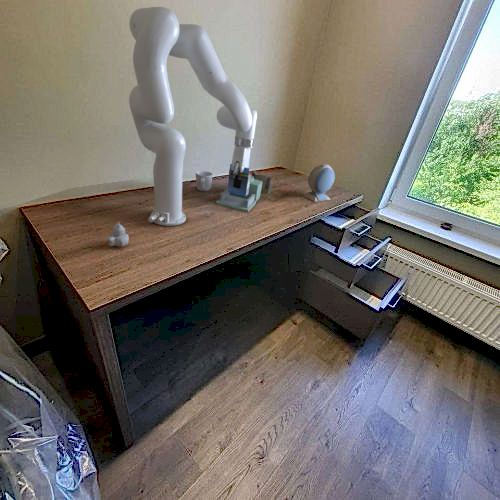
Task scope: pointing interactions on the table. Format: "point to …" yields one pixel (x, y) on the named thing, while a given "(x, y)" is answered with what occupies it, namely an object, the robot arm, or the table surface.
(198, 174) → the cup
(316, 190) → the alarm clock
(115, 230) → the grey lumpy cone shape
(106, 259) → the table surface
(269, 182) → the architectural model on board
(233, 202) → the drip tray
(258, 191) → the red push button box
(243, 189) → the label tape box
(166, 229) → the table surface
